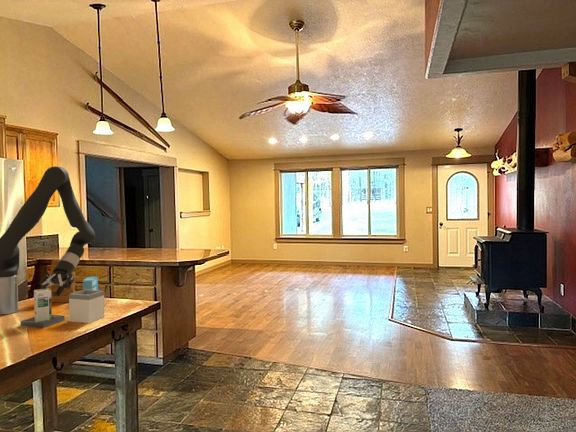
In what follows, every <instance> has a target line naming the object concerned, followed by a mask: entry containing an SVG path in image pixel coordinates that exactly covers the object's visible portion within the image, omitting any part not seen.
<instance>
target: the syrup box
mask: <svg viewBox="0 0 576 432" xmlns="http://www.w3.org/2000/svg"><path fill="white" fill-rule="evenodd" d="M33 303H34V304H33V305H34V306H33V307H34V308H33V309H34V310H33V311H34V312H33V313H34V316H33V317H35V322H43V323H44V322H46V321H49V320H52V315H53V314H52V313H53V312H52V307H53V306H52V303H51V290H50V287H47V289H40V288H39V289H34V290H33Z"/></svg>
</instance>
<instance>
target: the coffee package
mask: <svg viewBox="0 0 576 432" xmlns="http://www.w3.org/2000/svg"><path fill="white" fill-rule="evenodd" d="M59 261H60V259H54V258H52V259H51V264H50V274H52V273H53V272H54V268H55V267H56V265H57V264H58V262H59ZM75 269H76V268H75ZM75 269H74V271H73V273H72V275H73V276H74V277H75V278H74V280H73V282H72V284H71V286H70V287H69V288H65V289H64V290H63V291H62V293H61V294H60V295H59V296H57V295H56V294H55V292H56V290H57V289H58V287H59V286H60V284H53V285H50V286H49V289H50V290H51V304H52V303H53V304H54V303H60V304H61V303H62V304H63V303H69V294H71V293H75V292H76V290H75V288H76V270H75ZM50 282H52V281H51V280H50ZM65 282H66V280H65Z"/></svg>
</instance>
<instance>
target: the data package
mask: <svg viewBox="0 0 576 432" xmlns="http://www.w3.org/2000/svg"><path fill="white" fill-rule="evenodd" d="M82 290H99V277H98V276H88V277H86V278H84V279H83V281H82Z"/></svg>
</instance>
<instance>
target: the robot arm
mask: <svg viewBox="0 0 576 432" xmlns="http://www.w3.org/2000/svg"><path fill="white" fill-rule="evenodd" d="M37 184H38V185H37V187H36V188H35V189H34V190H33V192H31V195H30V196H29V197H28V198H27V200H26V201H25V202H24V203H23V204H22V206H21V207H20V209H19V210H18V212H17V214H16V215H15V217H14V218H13V219H12V221H11V223H10V224H9V225H8V227H7V229H6V230H5V232H4V233H3V234H2V235H1V237H0V315H10V314H15V313H18V312H19V289H18V288H19V287H18V286H19V283H18V282H19V280H18V279H19V278H18V277H19V275H18V274H19V273H18V271H19V268H20V248H19V246H18V245H19V243H20V241H21V240H22V239H23V238H24V237H25V236H26V235H27V234H29V233H30V231H32V230H33V229H34V228H35V227H36V225H37V224H38V223H39V222H40V220H41V219H42V217H43V216H44V214H45V212H46V210H47V209H48V205H49V202H50V200H51V198H52V197H53V195H54V194H55V192H56V191H57V192H58V195H59V197H60V199H61V204H62V207H63V212H64V214H65V217H66V218H67V221H68V223H69V226H70V227H72V228H74V229H75V228H76V229H77V230H78V231H77V232H75V234H74V235H73V236H72V237H71V241H70V244H69V246H68V248H67V249H66V251H65V253H63V255H62V256H61V257H60V259H59V260H60V261H59V262H58V264H57V265H56V267H55V268H54V272H53V273H52V274H51V273H50V272H46V273H45V274H44V276H43V277H42V278H41V280H40V281H39V285H40V286H41V287H40V288H39V289H47V288H50V285H53V284H60V286H59V287H58V289H57V290H56V292H55V294H56V295H57V296H59V295H60V294H61V293H62V291H63V290H64V289H65V288H69V287H70V286H71V284H72V282H73V280H74V278H75V279H76V276H75V277H74V276H73V275H72V273H73V271H74V269H76V267H77V266H78V264H79V262H80V260H81V258H82V257H83V256H84V253H85V248H84V247H85V245H88V244H91V243H93V242H94V241H95V240H96V233H95V231H94V229H93V227H92V226H91V224H90V223H89V222H88V221H87V220H86V217H85V215H84V213H83V211H82V209H81V207H80V205H79V202H78V200H77V198H76V196H75V193H74V191H73V187H72V184H71V179H70V174H69V172H68V170H67V169H66V168H64V167H61V166H56V165H55V166H50V167H48V168H47V169H46V170H45V172H44V173H43V175H42V177H41V179H40V181H39V183H37ZM50 280H51V281H52V282H50ZM65 280H66V282H65Z"/></svg>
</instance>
